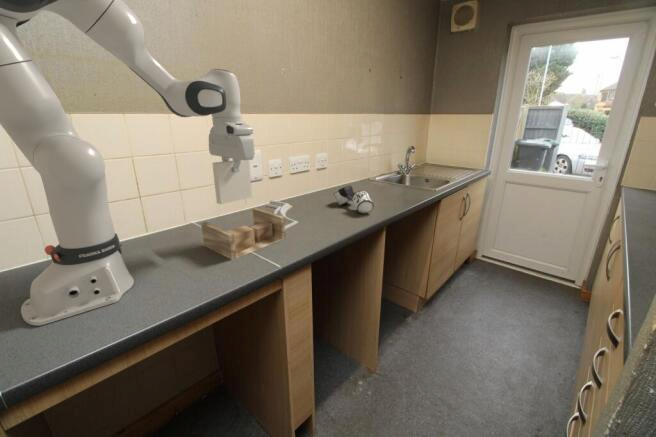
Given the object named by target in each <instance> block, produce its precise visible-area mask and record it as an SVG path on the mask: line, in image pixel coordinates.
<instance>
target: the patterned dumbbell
mask: <svg viewBox="0 0 656 437" xmlns="http://www.w3.org/2000/svg"><path fill="white" fill-rule="evenodd" d="M333 195H334V197H335V199H336V202H337V203H338V206H340V207H341V206H342V205H345V204H347V203H349V202H353V205H354V206H355V208H356V211H357V212H358V214H360V215H364V214H365V215H367V214H369V213H371V212H372V210H374V202H373V201H372V199H371V196H370V195H369V193H368V192H367V191H365V190H357V191H356V192H355V191H354V188H353V186H352V185H351V184H349V185H346V186H343V187H342V188H339V189H338V190H337V191H335V192H334V193H333Z"/></svg>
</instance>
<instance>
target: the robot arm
mask: <svg viewBox="0 0 656 437" xmlns="http://www.w3.org/2000/svg"><path fill="white" fill-rule="evenodd" d="M42 11H47V12H50V13H54V14H57V15H58V16H60V17H62V18H64V19H65V20H68V21H69V23H71V24H72V25H73V26H75V28H76V29H78V30H79V31H81V32H82V33H83V34H84V35H86V36H87V37H88V38H89V39H91V40H92V41H93V42H94V43H96V44H97V45H98V46H100V47H101V48H103V49H104V50H106V51H107V52H108V53H110V54H111V55H112V56H114V57H115V58H117V59H118V60H119V61H120V62H122V63H123V64H124V65H125V66H127V67H128V68H129V69H130V70H131V71H132V72H133V73H135V74H136V75H137V76H138V77H139V78H140V79H141V80H142V81H144V83H146V84H147V85H148V86H150V88H152V89H153V90H154V91H155V92H156V93H157V94H158V95H159V96H160V98H161V99H162V100H163V102H164V104H165V105H166V107H167V109H168V110H169V111H171V113H173V114H174V115H175V116H177V117H179V118H191V117H207V116H210V115H211V120H212V127H211V129H210V130H209V134H208V151H209V153H210V155H211V156H215V157H221V162H223V161H231V160H233V162H234V164H233V167H232V172H234V173H237V172H239V166H240V163H241V160H244V161H245V160H249V161H251V160H254V158H255V142H254V137H253V134H254V128H253V126H251V125H249V124H247V123H246V122H245V121H243V116H242V112H241V104H242V102H241V101H242V100H241V88H240V84H239V81H238V78H237V76H236V75H235V74H234V72H232V71H229V70H226V69H220V68H212V69H210V70H209V71H208V72H207V73H206V74H204V75H202V76H200V77H198V78H194V79H192V80H186V81H185V80H180V79H177V78H176V77H174V76H173V75H172V74H171V73H169V71H167V70H166V68H165V67H164V66H162V65H161V64H160V63H159V62H158V61H157V60H156V59H155V58H154V57H153V56H152V55H151V54H150V53H149V51H148V49H147V47H146V43H145V41H146V40H145V35H146V34H145V29H144V26H143V24H142V21H141V20H140V19H139V18H138V16H137V15H136V14H135V13H134V12H133V10H132V8H130V7H129V6H128V5H127V3H125V2H124V0H0V125H1V127H2V128H3V129H4V132H6V134H7V135H8V137H9V138H10V139H11V140H12V142H14V144H15V145H16V147H17V148H18V149H19V150H20V152H21V153H22V154H23V156H24V157H25V158H26V159H27V161H28V163H30V165H31V166H32V167H33V168H34V170H35V171H37V173H39V175H40V178H41V181H42V182H41V183H42V185H43V189H44V192H45V197H46V202H47V206H48V210H49V216H50V218H51V222H52V225H53V228H54V231H55V235H56V238H57V242H58V244H57V245H56V246H54V245H47V246H45V247H44V252H45V253H46V254H47V255H48V256H50V258H51V261H52V262H51V264H49V266H47V267H46V268H45V269H44V270H43V271H42V272H41V273H40V274H39V275H37V277H35V278H34V279H33V281H32V282H31V285H30V288H29V297H30V298H28V299H26V300H25V301H24V302H23V304H21V308H20V314H21V318H22V320H23V321H24V322H25V323H27V324H28V325H31V326H35V327H36V326H37V327H38V326H39V327H40V326H44V325H47V324H51V323H53V322H57V321H60V320H64V319H67V318H70V317H73V316H76V315H79V314H82V313H86V312H88V311H92V310H95V309H99V308H102V307H105V306H108V305H111V304H115V303H117V302H118V301H119V300H120V299H121V298H122V296H123V295H124V294H125V293H126V292H127V291H129V290H130V289H131V288H132V287H133V285H134V283H135V279H134V277H133V276H132V275H131V273H130V272H129V270H128V268H127V266H126V264H125V261H124V259H123V256H122V246H121V242H120V238H119V236H118V234H117V233H115V229H114V225H113V224H114V223H113V221H112V217H111V216H112V215H111V212H110V207H109V201H108V188H107V177H106V164H105V160H104V158H103V156H102V154H101V153H100V151H98V149H97V148H96V147H95V146H94V144H91V143H90V142H88V141H85V140H84V139H81V138H80V136H79V135H78V133H77V131H76V129H75V128H74V126H73V125H72V122H71V121H70V119H69V117H68V115H67V113H66V111H65V109H64V108H63V106H62V102H61V101H60V99H59V97H58V96H57V94H56V93H55V92H54V90H53V88H52V87H51V85H50V84H49V82H48V81H47V80H46V78H45V76H44V75H43V73H42V72H41V70H40V69H39V67H38V66H37V64H36V62H35V61H34V60H33V58H32V56H31V55H30V54H29V52H28V51H27V50H26V49H25V47H24V45H23V44H22V41H21V39H20V37H19V35H18V32H17V28H19V27H20V26H22V25H24V24H26V23H28V22H30V20H32V18H33V19H34V18H35V17H36V16H38V15H39V14H40V13H41V12H42Z"/></svg>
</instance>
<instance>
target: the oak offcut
mask: <svg viewBox="0 0 656 437" xmlns="http://www.w3.org/2000/svg"><path fill="white" fill-rule="evenodd" d="M227 231H228V232H230V233H233V234H234V241H235V251H236V253H238V252H240V251H243V250H245V249H248V248H251V247H253V246H255V236H254V229H253V228H250V227H249V226H248V225H242V226H239V227H235V228H232V229H230V230H227Z"/></svg>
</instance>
